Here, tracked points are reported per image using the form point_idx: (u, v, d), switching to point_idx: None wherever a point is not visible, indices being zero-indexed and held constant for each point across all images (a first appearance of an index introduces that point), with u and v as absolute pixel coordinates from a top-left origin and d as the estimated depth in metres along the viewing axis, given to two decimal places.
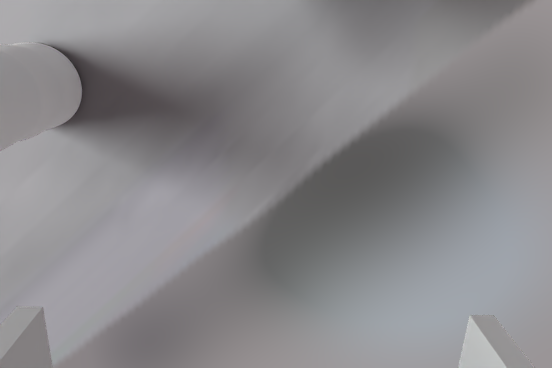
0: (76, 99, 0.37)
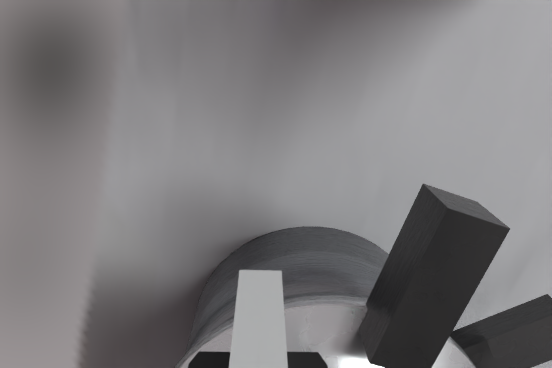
0: None
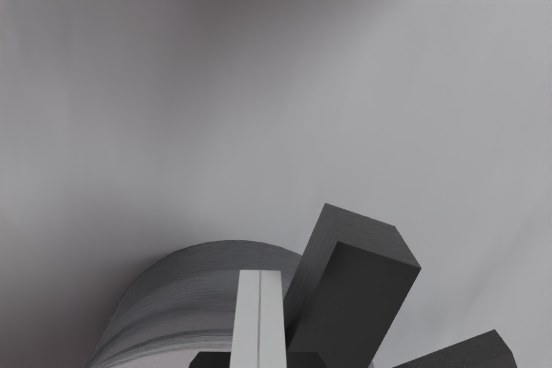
0: None
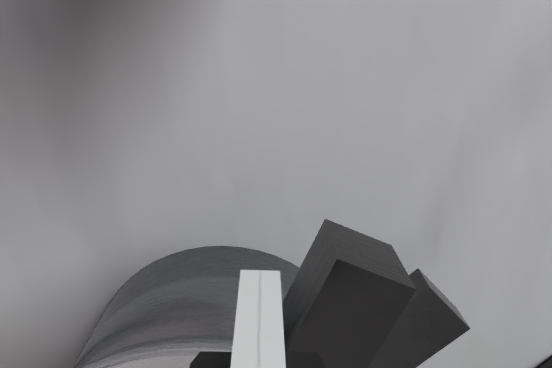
0: None
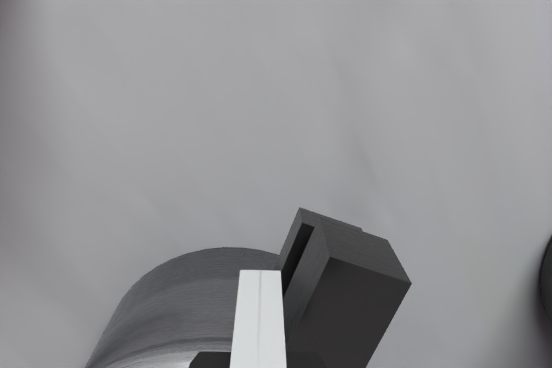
0: None
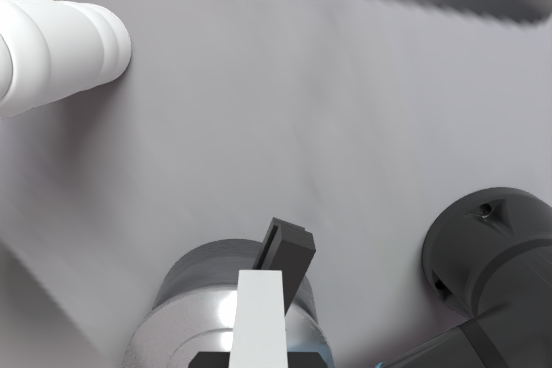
0: None
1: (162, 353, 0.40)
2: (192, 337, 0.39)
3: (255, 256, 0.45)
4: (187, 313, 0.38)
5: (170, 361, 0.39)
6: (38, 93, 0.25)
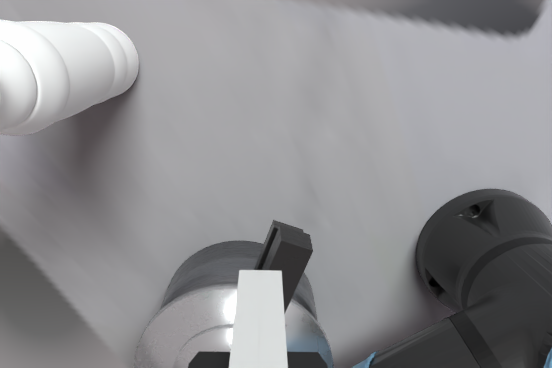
0: None
1: (171, 348, 0.42)
2: (199, 333, 0.41)
3: (257, 257, 0.48)
4: (194, 310, 0.41)
5: (178, 356, 0.42)
6: (59, 111, 0.28)
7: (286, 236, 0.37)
